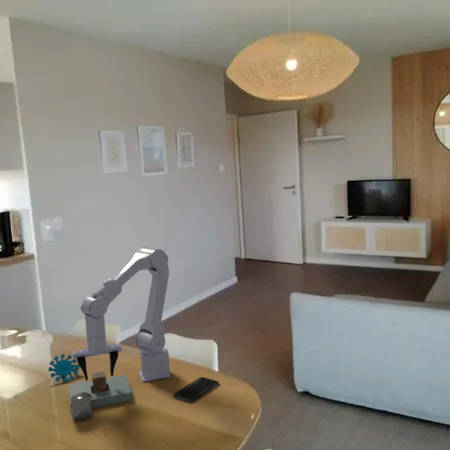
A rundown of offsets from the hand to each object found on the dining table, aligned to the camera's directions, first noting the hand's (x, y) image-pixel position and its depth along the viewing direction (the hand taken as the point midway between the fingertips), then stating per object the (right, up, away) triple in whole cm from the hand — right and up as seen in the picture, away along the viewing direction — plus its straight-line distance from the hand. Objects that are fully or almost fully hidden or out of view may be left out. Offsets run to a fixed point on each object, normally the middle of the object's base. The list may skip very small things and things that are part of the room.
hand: (99, 377), depth 146 cm
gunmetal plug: (-2, -8, -12) cm, 14 cm away
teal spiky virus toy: (-16, -6, +15) cm, 22 cm away
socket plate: (0, -6, +1) cm, 6 cm away
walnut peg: (0, -6, +1) cm, 6 cm away
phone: (+31, -5, +2) cm, 31 cm away
